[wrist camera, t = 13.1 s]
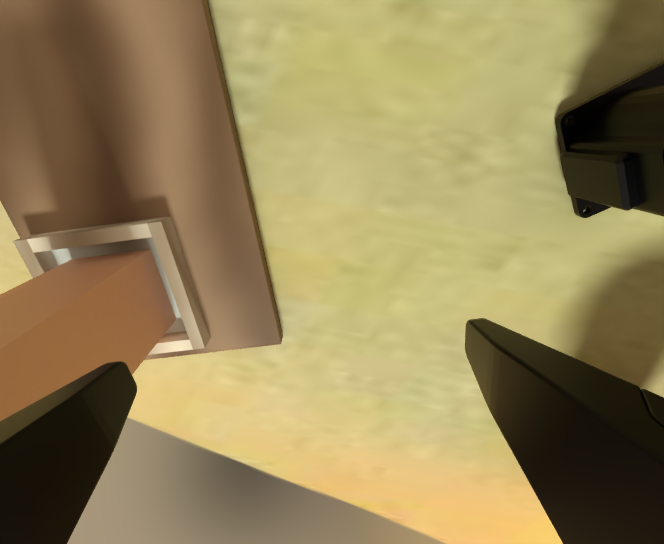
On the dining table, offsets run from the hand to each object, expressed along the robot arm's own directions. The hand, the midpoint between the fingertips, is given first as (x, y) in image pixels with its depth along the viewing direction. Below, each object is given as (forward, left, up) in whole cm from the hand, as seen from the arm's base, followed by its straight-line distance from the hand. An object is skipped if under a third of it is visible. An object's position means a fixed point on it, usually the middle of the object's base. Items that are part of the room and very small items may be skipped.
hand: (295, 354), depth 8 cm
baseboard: (+9, -6, -13) cm, 17 cm away
